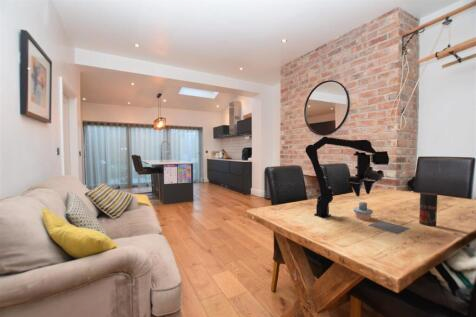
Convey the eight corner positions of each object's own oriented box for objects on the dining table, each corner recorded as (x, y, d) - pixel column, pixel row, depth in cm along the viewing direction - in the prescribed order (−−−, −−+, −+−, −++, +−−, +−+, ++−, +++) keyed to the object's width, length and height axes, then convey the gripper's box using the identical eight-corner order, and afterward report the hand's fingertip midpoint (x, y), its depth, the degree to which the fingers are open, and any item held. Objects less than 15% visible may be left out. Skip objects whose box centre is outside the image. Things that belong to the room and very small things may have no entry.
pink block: (365, 222, 104) (366, 214, 104) (352, 218, 110) (353, 211, 110) (372, 219, 108) (373, 212, 108) (359, 216, 113) (360, 209, 113)
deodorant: (419, 222, 104) (420, 191, 103) (435, 225, 100) (436, 193, 99) (419, 226, 99) (420, 194, 98) (436, 229, 95) (437, 195, 94)
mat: (397, 235, 88) (397, 234, 88) (367, 226, 98) (367, 225, 98) (410, 229, 94) (410, 228, 94) (380, 222, 105) (380, 220, 105)
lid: (367, 215, 103) (367, 205, 103) (350, 210, 110) (350, 202, 110) (376, 212, 107) (376, 203, 107) (359, 208, 115) (359, 200, 114)
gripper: (370, 166, 96) (369, 200, 97) (390, 164, 106) (389, 195, 107) (346, 165, 106) (346, 196, 106) (367, 163, 115) (366, 192, 116)
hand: (363, 195), depth 109 cm, fingers open, 9 cm apart
